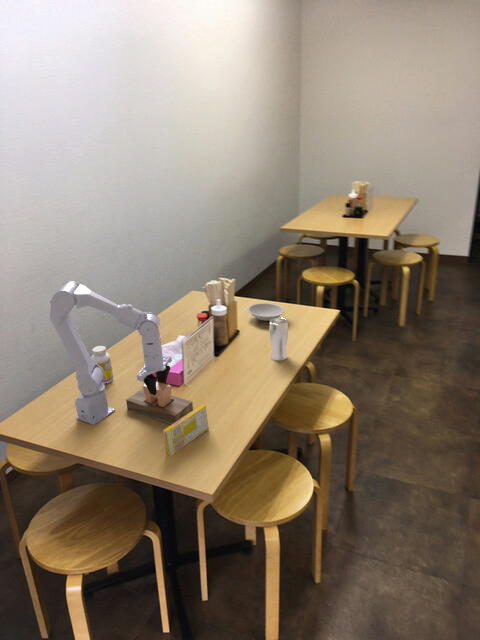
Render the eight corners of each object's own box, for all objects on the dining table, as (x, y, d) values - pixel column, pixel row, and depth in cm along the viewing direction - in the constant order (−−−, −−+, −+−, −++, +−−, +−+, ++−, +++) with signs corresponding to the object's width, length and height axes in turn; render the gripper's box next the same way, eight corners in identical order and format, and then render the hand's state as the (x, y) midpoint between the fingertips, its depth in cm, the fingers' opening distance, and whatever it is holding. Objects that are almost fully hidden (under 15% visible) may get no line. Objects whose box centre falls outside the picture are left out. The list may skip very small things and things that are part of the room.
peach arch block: (164, 407, 169) (162, 391, 167) (145, 401, 173) (143, 385, 171) (172, 401, 172) (170, 385, 170) (153, 395, 176) (151, 379, 174)
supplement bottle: (90, 382, 193) (85, 350, 188) (103, 374, 198) (97, 343, 193) (105, 386, 190) (99, 354, 185) (117, 378, 195) (112, 346, 190)
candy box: (204, 426, 164) (201, 403, 161) (209, 429, 163) (207, 406, 160) (165, 453, 153) (162, 429, 150) (170, 456, 152) (167, 432, 148)
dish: (240, 320, 239) (239, 309, 237) (262, 310, 248) (262, 300, 246) (269, 330, 227) (269, 319, 225) (291, 320, 236) (291, 309, 234)
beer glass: (288, 353, 207) (288, 317, 201) (288, 361, 200) (287, 324, 195) (270, 353, 208) (269, 317, 202) (269, 361, 201) (268, 324, 195)
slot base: (175, 425, 165) (174, 415, 164) (127, 409, 175) (126, 399, 174) (193, 411, 172) (192, 401, 171) (145, 396, 182) (144, 387, 181)
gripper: (147, 365, 158) (152, 404, 163) (177, 345, 169) (181, 383, 175) (129, 360, 162) (135, 399, 167) (160, 341, 173) (164, 378, 178)
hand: (157, 390), depth 171 cm, fingers closed on peach arch block, 4 cm apart
